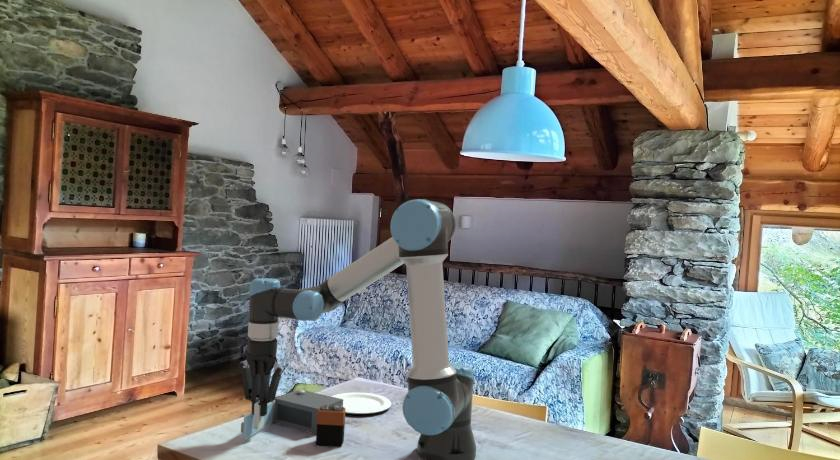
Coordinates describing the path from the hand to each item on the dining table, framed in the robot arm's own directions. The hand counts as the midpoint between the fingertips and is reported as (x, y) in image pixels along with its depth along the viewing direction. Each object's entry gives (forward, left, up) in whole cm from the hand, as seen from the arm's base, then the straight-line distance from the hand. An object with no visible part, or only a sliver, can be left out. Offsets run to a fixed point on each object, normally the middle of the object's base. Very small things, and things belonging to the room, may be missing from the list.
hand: (258, 427), depth 156 cm
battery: (-17, -8, -3) cm, 19 cm away
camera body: (-4, -17, -3) cm, 17 cm away
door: (+3, -4, -3) cm, 5 cm away
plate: (-6, -38, -4) cm, 39 cm away
